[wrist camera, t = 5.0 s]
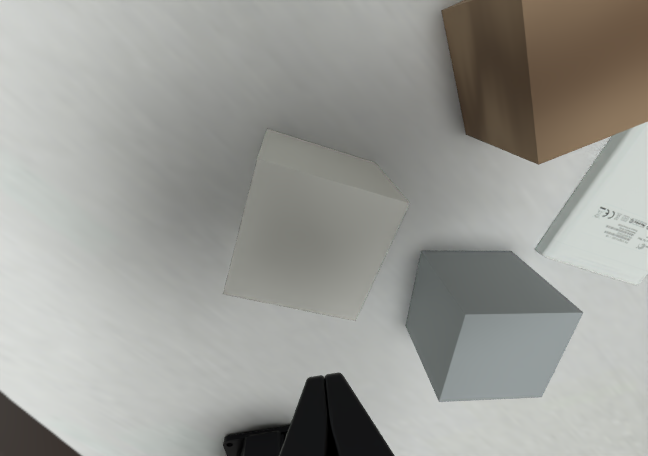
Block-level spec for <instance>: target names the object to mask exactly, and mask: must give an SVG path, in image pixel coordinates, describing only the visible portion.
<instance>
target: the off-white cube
mask: <svg viewBox="0 0 648 456" xmlns="http://www.w3.org/2000/svg"><path fill="white" fill-rule="evenodd" d="M409 205H410V203H409V202H408V200H407V199H406V198H405V197H404V196H403V194H402V193H401V192H400V191H399V190H398V189H397V187H396V186H395V185H394V184H393V183H392V182H391V180H390V179H389V178H388V177H387V176H386V174H385V173H384V172H383V171H382V170H381V169H380V167H379V166H378V165H377V164H376V163H375V162H371V161H368V160H365V159H362V158H359V157H356V156H352V155H349V154H346V153H343V152H340V151H337V150H333V149H330V148H327V147H324V146H321V145H318V144H314V143H311V142H308V141H305V140H302V139H299V138H295V137H292V136H289V135H286V134H283V133H280V132H276V131H273V130H270V129H267V130H266V133H265V136H264V139H263V142H262V145H261V148H260V151H259V154H258V157H257V161H256V165H255V169H254V173H253V177H252V181H251V185H250V189H249V192H248V196H247V200H246V204H245V208H244V212H243V216H242V220H241V224H240V228H239V232H238V236H237V240H236V244H235V248H234V252H233V256H232V260H231V264H230V268H229V272H228V276H227V280H226V284H225V288H224V292H223V294H225V295H230V296H235V297H240V298H245V299H249V300H254V301H259V302H264V303H269V304H274V305H279V306H284V307H289V308H294V309H299V310H304V311H309V312H314V313H318V314H323V315H328V316H333V317H338V318H343V319H348V320H353V321H356V319H357V317H358V315H359V313H360V311H361V309H362V306H363V304H364V302H365V300H366V298H367V296H368V293H369V291H370V289H371V287H372V285H373V283H374V280H375V278H376V276H377V274H378V272H379V270H380V267H381V265H382V263H383V261H384V259H385V257H386V255H387V252H388V250H389V248H390V246H391V244H392V242H393V239H394V237H395V235H396V233H397V231H398V229H399V226H400V224H401V222H402V220H403V218H404V216H405V214H406V211H407V209H408V207H409Z"/></svg>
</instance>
